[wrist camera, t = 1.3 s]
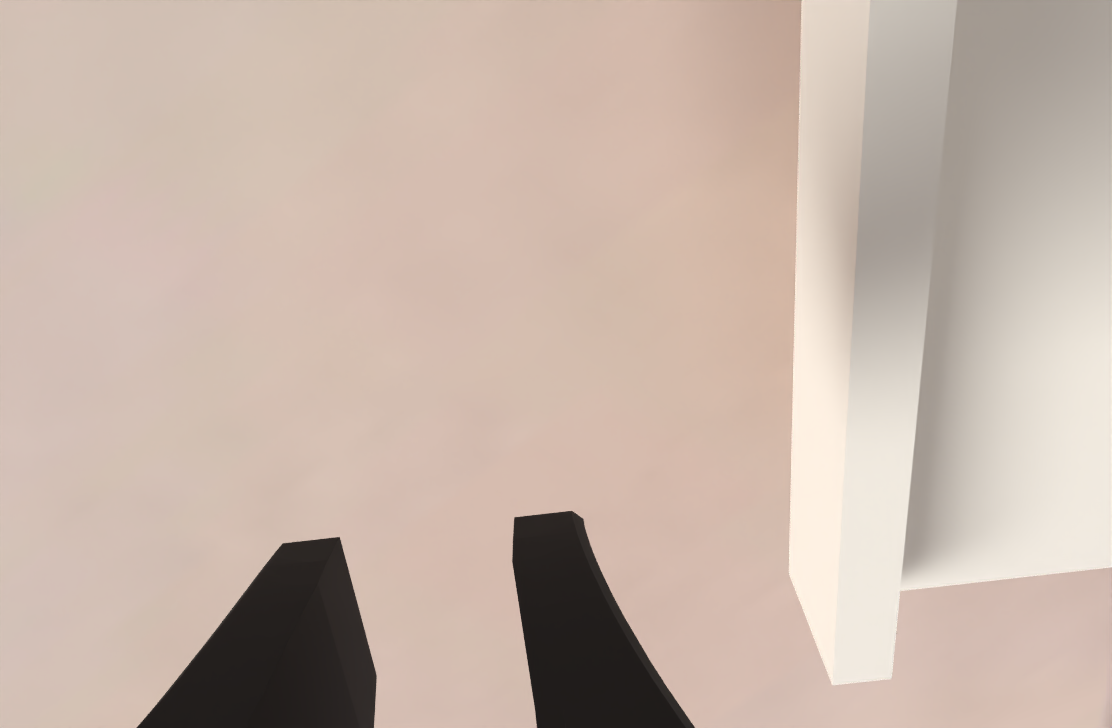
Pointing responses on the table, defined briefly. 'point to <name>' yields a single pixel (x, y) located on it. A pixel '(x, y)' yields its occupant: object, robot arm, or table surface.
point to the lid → (948, 306)
